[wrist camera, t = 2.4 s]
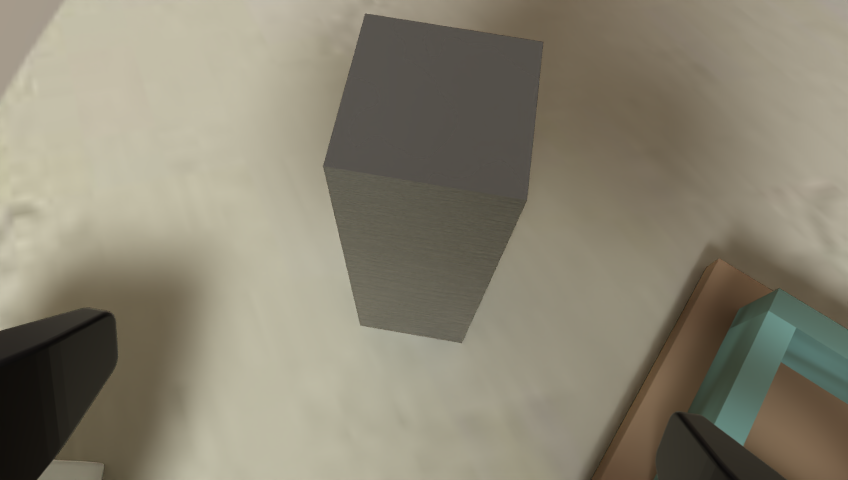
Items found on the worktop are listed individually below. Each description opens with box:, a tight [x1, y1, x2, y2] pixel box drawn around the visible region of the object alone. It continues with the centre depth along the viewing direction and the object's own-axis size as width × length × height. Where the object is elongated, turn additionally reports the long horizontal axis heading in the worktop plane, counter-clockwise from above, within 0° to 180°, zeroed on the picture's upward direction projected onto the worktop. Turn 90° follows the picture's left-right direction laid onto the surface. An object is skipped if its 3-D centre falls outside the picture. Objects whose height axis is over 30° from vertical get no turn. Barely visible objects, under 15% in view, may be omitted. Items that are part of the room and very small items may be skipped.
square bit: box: [323, 14, 543, 343], centre depth 17 cm, size 4×4×12 cm
